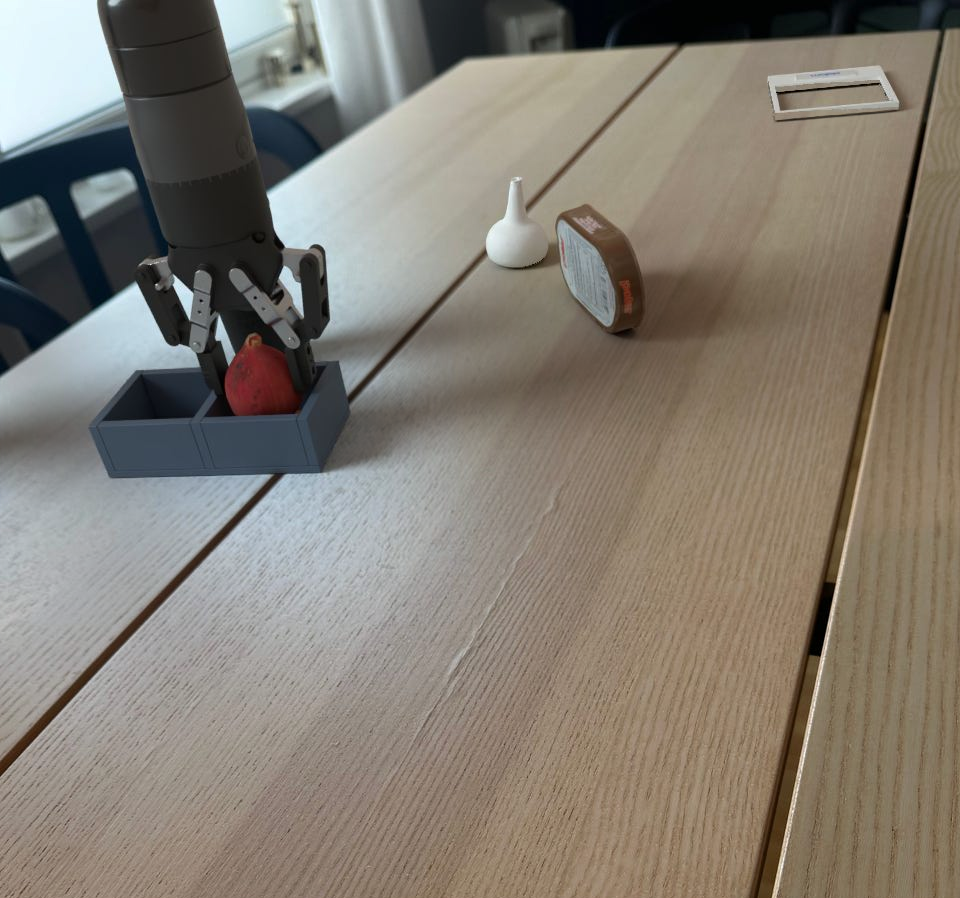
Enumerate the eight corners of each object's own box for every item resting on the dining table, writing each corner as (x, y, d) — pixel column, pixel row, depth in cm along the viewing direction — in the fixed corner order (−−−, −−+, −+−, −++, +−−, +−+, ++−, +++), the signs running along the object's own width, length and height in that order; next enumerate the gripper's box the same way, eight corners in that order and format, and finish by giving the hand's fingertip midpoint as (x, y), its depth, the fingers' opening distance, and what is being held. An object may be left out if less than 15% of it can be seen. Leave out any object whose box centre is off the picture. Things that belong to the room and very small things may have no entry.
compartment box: (109, 478, 80) (87, 426, 77) (154, 419, 87) (135, 369, 84) (321, 472, 77) (306, 418, 74) (350, 412, 83) (338, 360, 80)
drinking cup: (283, 381, 89) (217, 137, 76) (209, 377, 92) (132, 141, 79) (320, 342, 94) (264, 108, 81) (249, 339, 97) (183, 112, 84)
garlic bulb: (494, 249, 107) (485, 169, 101) (553, 246, 105) (547, 165, 100) (482, 273, 102) (472, 191, 97) (544, 271, 101) (537, 187, 95)
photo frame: (880, 63, 137) (899, 100, 124) (878, 72, 138) (898, 110, 125) (768, 74, 140) (775, 111, 127) (767, 83, 141) (774, 120, 127)
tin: (649, 341, 86) (647, 242, 81) (614, 350, 86) (610, 251, 80) (585, 281, 97) (580, 190, 92) (554, 289, 97) (547, 198, 91)
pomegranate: (269, 457, 77) (241, 359, 72) (225, 437, 80) (194, 342, 75) (327, 424, 80) (303, 327, 75) (281, 406, 83) (256, 312, 78)
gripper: (318, 132, 68) (365, 364, 79) (122, 149, 71) (195, 371, 82) (285, 168, 63) (341, 412, 74) (75, 185, 65) (159, 417, 76)
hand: (264, 389), depth 78 cm, fingers closed on pomegranate, 6 cm apart
